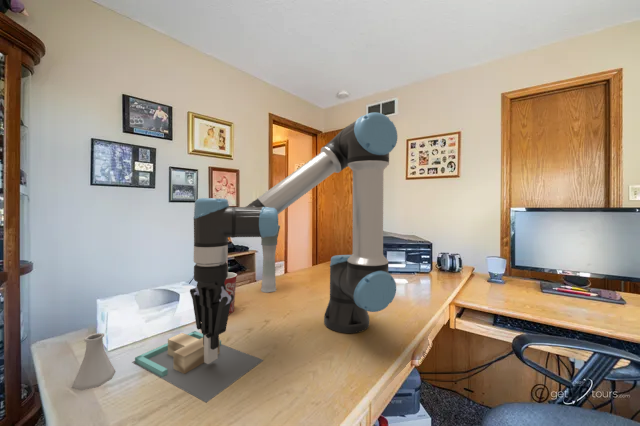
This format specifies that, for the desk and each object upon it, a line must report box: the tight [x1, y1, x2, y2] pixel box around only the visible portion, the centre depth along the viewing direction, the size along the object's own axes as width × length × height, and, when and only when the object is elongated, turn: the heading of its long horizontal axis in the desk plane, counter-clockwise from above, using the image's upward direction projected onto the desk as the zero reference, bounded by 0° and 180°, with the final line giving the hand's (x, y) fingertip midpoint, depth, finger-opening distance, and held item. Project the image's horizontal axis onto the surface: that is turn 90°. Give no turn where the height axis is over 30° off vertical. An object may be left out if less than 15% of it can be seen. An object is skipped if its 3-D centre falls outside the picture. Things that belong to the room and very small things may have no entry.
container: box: [260, 224, 281, 293], centre depth 125 cm, size 10×10×30 cm
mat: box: [131, 330, 264, 403], centre depth 67 cm, size 27×17×2 cm, turn 61°
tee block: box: [167, 332, 221, 374], centre depth 69 cm, size 11×10×4 cm
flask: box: [71, 332, 117, 391], centre depth 59 cm, size 7×7×10 cm
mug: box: [225, 271, 238, 315], centre depth 101 cm, size 13×9×14 cm
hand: (210, 360), depth 65 cm, fingers closed
